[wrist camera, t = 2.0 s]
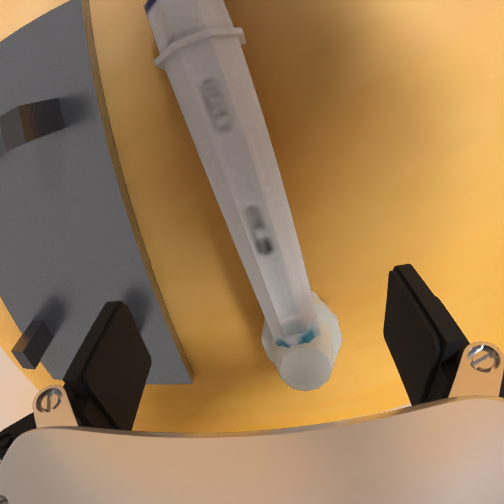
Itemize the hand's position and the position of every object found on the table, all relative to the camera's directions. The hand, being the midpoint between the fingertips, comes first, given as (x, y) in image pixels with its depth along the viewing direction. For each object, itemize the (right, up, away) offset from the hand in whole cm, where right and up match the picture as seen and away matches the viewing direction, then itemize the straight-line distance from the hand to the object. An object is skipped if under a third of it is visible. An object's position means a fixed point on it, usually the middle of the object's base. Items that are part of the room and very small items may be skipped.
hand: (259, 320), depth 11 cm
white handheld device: (0, +6, +9) cm, 10 cm away
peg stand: (-16, +3, +10) cm, 19 cm away
